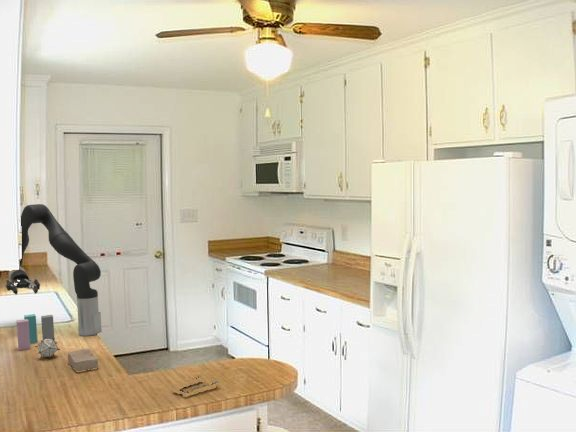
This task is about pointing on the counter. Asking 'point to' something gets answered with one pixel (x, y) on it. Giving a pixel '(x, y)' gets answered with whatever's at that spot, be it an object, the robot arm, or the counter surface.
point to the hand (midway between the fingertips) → (26, 292)
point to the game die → (47, 347)
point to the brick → (82, 360)
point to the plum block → (23, 334)
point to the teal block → (32, 327)
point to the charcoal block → (47, 327)
